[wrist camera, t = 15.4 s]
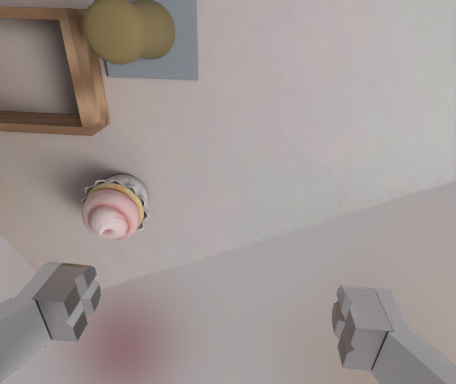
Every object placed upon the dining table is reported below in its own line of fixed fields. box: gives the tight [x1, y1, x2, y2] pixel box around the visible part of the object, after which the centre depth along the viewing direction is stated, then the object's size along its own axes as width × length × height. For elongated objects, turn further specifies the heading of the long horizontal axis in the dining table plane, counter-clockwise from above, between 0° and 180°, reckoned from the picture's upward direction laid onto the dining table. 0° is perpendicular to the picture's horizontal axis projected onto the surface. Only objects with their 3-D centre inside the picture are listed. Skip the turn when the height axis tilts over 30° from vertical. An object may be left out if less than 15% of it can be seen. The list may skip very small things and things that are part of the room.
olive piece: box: [83, 0, 175, 65], centre depth 30 cm, size 6×6×11 cm
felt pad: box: [106, 0, 198, 80], centre depth 35 cm, size 11×11×1 cm
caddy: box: [0, 7, 110, 136], centre depth 36 cm, size 13×18×5 cm
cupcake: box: [80, 174, 149, 240], centre depth 42 cm, size 9×9×10 cm
